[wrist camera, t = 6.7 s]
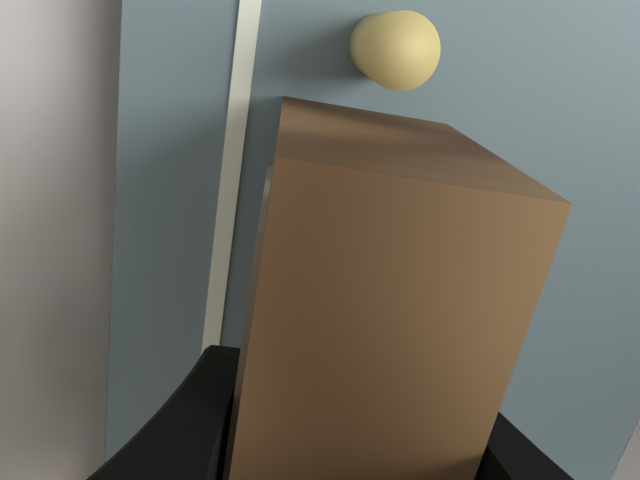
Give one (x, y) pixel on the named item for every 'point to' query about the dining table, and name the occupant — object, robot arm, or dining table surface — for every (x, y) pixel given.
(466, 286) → the brown box
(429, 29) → the shelf board
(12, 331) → the dining table surface
